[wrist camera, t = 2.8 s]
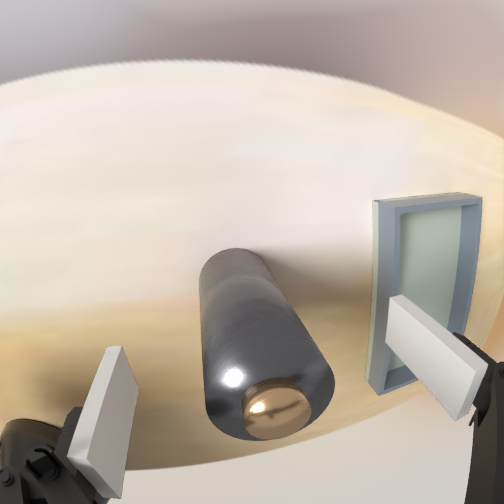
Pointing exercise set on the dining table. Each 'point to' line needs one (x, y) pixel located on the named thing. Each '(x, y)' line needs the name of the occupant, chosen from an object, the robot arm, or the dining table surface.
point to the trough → (420, 270)
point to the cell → (257, 352)
